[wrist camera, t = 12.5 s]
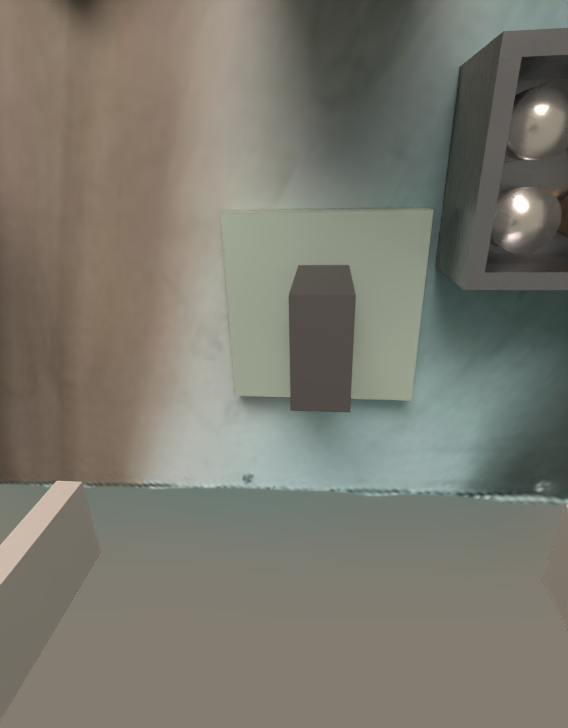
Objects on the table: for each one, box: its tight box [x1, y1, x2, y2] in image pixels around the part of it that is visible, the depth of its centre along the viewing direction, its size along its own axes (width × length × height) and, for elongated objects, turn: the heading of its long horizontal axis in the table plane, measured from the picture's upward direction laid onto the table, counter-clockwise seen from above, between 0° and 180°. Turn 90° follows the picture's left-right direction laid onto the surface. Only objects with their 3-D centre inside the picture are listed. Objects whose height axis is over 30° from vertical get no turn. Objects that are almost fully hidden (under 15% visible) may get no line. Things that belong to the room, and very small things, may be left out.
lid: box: [220, 208, 433, 412], centre depth 28 cm, size 14×14×10 cm
